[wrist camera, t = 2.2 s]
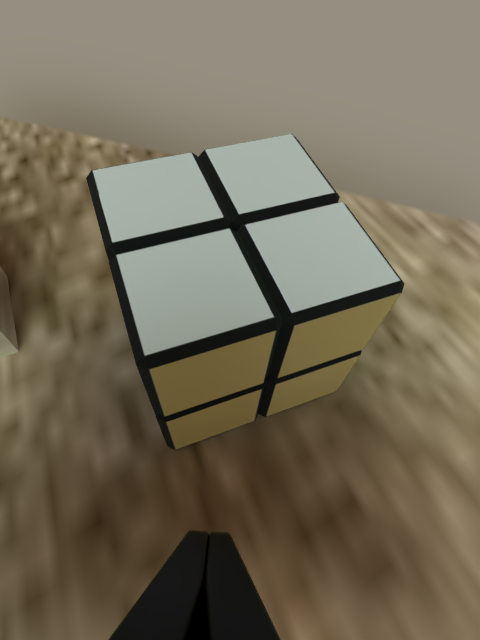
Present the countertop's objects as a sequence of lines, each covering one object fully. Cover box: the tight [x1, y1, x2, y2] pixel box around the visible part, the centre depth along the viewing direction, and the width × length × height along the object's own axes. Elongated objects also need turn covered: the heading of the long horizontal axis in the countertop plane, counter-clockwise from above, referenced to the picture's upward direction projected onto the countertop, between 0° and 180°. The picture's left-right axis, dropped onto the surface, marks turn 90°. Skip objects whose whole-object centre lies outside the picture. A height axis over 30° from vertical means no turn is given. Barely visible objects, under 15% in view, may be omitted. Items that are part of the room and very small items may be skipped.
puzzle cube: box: [86, 134, 404, 450], centre depth 20 cm, size 10×10×10 cm
